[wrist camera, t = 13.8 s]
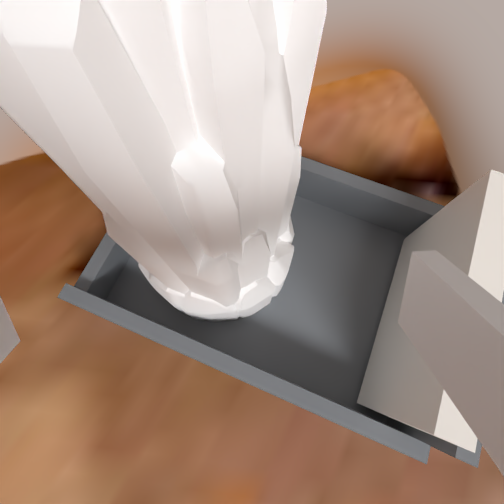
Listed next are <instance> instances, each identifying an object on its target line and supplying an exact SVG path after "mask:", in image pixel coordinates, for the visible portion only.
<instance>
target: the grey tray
mask: <svg viewBox="0 0 504 504" xmlns="http://www.w3.org/2000/svg"><path fill="white" fill-rule="evenodd" d="M444 207H445V206H442V205H439V204H437V203H434V202H431V201H428V200H425V199H422V198H419V197H416V196H414V195H411V194H408V193H405V192H402V191H399V190H396V189H394V188H391V187H388V186H385V185H382V184H379V183H376V182H374V181H371V180H368V179H365V178H362V177H359V176H356V175H354V174H351V173H348V172H345V171H342V170H339V169H336V168H334V167H331V166H328V165H325V164H322V163H319V162H316V161H314V160H311V159H308V158H305V157H302V156H301V172H300V180H299V184H298V187H297V191H296V195H295V199H294V203H293V207H292V211H291V215H290V216H291V221H292V225H293V230H294V238H293V241H292V244H291V245H293V246H294V253H293V257H292V260H291V264H290V267H289V271H288V274H287V276H286V279H285V281H284V283H283V286H282V288H281V290H280V292H279V293H278V295H277V296H274V297H272V298H271V302H270V304H268V305H267V306H265V307H263V308H262V309H260V310H259V311H257V312H256V313H254V314H253V315H250V316H248V317H245V318H241V317H239V318H238V319H237V320H227V321H216V322H211V321H205V320H198V319H194V318H192V317H191V316H189V315H185V314H184V313H182V312H181V311H179V310H178V309H177V308H175V307H174V306H173V305H171V304H170V303H169V302H168V301H167V300H166V299H165V298H164V297H163V296H162V295H160V294H159V293H158V292H157V291H156V290H155V289H154V288H153V287H152V285H151V284H150V283H149V281H148V280H147V278H146V277H145V276H144V274H143V273H142V271H141V270H140V268H139V266H138V264H139V263H138V262H137V261H136V260H135V259H134V258H133V257H132V256H131V255H129V254H128V253H127V252H126V251H125V250H124V249H123V248H122V247H120V246H119V245H118V244H117V243H116V242H115V241H114V240H113V239H112V238H111V237H110V236H109V235H108V234H107V232H106V234H105V236H104V237H103V239H102V241H101V242H100V244H99V246H98V247H97V249H96V251H95V252H94V254H93V256H92V257H91V259H90V261H89V262H88V264H87V266H86V267H85V269H84V271H83V272H82V274H81V276H80V277H79V279H78V281H77V282H76V284H75V286H71V285H69V284H65V286H64V287H63V289H62V290H61V292H60V294H59V295H58V298H60V299H62V300H64V301H67V302H69V303H71V304H73V305H75V306H78V307H80V308H82V309H84V310H86V311H89V312H91V313H93V314H95V315H98V316H100V317H102V318H104V319H106V320H109V321H111V322H113V323H115V324H117V325H120V326H122V327H124V328H126V329H129V330H131V331H133V332H135V333H137V334H140V335H142V336H144V337H146V338H148V339H151V340H153V341H155V342H157V343H159V344H162V345H164V346H166V347H168V348H171V349H173V350H175V351H177V352H179V353H182V354H184V355H186V356H188V357H190V358H193V359H195V360H197V361H199V362H202V363H204V364H206V365H208V366H210V367H213V368H215V369H217V370H219V371H221V372H224V373H226V374H228V375H230V376H232V377H235V378H237V379H239V380H241V381H244V382H246V383H248V384H250V385H252V386H255V387H257V388H259V389H261V390H263V391H266V392H268V393H270V394H272V395H275V396H277V397H279V398H281V399H283V400H286V401H288V402H290V403H292V404H294V405H297V406H299V407H301V408H303V409H305V410H308V411H310V412H312V413H314V414H317V415H319V416H321V417H323V418H325V419H328V420H330V421H332V422H334V423H336V424H339V425H341V426H343V427H345V428H348V429H350V430H352V431H354V432H356V433H359V434H361V435H363V436H365V437H367V438H370V439H372V440H374V441H376V442H378V443H381V444H383V445H385V446H387V447H390V448H392V449H394V450H396V451H398V452H401V453H403V454H405V455H407V456H409V457H412V458H414V459H416V460H418V461H421V462H423V463H425V464H427V461H428V456H429V451H430V447H431V446H432V447H434V448H436V449H438V450H440V451H442V452H444V453H446V454H448V455H450V456H453V457H455V458H457V459H459V460H461V461H464V462H466V463H468V464H470V465H473V466H475V467H477V468H478V464H479V458H480V452H481V447H482V444H481V443H480V441H479V440H478V439H477V445H476V450H475V453H474V452H471V451H469V450H466V449H464V448H462V447H459V446H457V445H454V444H452V443H450V442H447V441H445V440H443V439H440V438H438V437H435V436H433V435H431V434H428V433H426V432H424V431H421V430H419V429H416V428H414V427H412V426H409V425H407V424H405V423H402V422H400V421H397V420H395V419H393V418H390V417H388V416H385V415H383V414H381V413H378V412H376V411H374V410H372V409H369V408H367V407H365V406H362V405H360V404H358V403H357V400H358V396H359V393H360V390H361V386H362V383H363V379H364V376H365V372H366V369H367V365H368V362H369V358H370V355H371V352H372V348H373V345H374V341H375V338H376V334H377V331H378V327H379V324H380V320H381V317H382V314H383V310H384V307H385V303H386V300H387V296H388V293H389V289H390V286H391V283H392V279H393V276H394V272H395V269H396V265H397V262H398V258H399V255H400V251H401V248H402V245H403V241H404V239H405V238H406V237H407V236H408V235H410V234H411V233H412V232H413V231H415V230H416V229H417V228H418V227H420V226H421V225H422V224H424V223H425V222H426V221H427V220H429V219H430V218H431V217H432V216H434V215H435V214H436V213H437V212H439V211H440V210H441V209H442V208H444ZM502 304H504V292H503V298H502Z"/></svg>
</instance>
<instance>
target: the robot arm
mask: <svg viewBox="0 0 504 504" xmlns="http://www.w3.org/2000/svg"><path fill="white" fill-rule="evenodd" d="M398 323H399V325H400V326H401V328H402V329H403V330H404V332H405V333H406V335H407V336H408V338H409V339H410V341H411V342H412V344H413V345H414V347H415V348H416V349H417V351H418V352H419V354H420V355H421V357H422V358H423V360H424V361H425V363H426V364H427V365H428V367H429V368H430V370H431V371H432V373H433V374H434V376H435V377H436V379H437V380H438V381H439V383H440V384H441V386H442V387H443V389H444V390H445V392H446V393H447V395H448V396H449V397H450V399H451V400H452V402H453V403H454V405H455V406H456V408H457V409H458V411H459V412H460V413H461V415H462V416H463V418H464V419H465V421H466V422H467V424H468V425H469V427H470V428H471V429H472V431H473V432H474V434H475V435H476V437H477V438H478V440H479V441H480V443H481V444H482V446H483V447H484V448H485V450H486V451H487V453H488V454H489V456H490V457H491V459H492V460H493V462H494V463H495V464H496V466H497V467H498V469H499V470H500V472H501V473H502V475H503V476H504V304H502V303H501V302H500V301H499V300H497V299H496V298H495V297H494V296H492V295H491V294H490V293H489V292H487V291H486V290H485V289H484V288H483V287H481V286H480V285H479V284H478V283H476V282H475V281H474V280H473V279H471V278H470V277H469V276H468V275H466V274H465V273H464V272H463V271H461V270H460V269H459V268H458V267H456V266H455V265H454V264H453V263H451V262H450V261H449V260H448V259H446V258H445V257H444V256H443V255H441V254H440V253H439V252H438V251H436V250H434V251H412V254H411V259H410V264H409V269H408V274H407V279H406V284H405V289H404V294H403V299H402V304H401V309H400V314H399V319H398ZM19 342H20V339H19V337H18V334H17V332H16V330H15V328H14V326H13V323H12V321H11V319H10V317H9V315H8V312H7V310H6V308H5V306H4V303H3V301H2V299H1V297H0V363H1V362H2V361H3V360H4V359H5V358H6V357H7V355H8V354H9V353H10V352H11V351H12V350H13V349H14V348H15V347H16V345H17V344H18V343H19Z"/></svg>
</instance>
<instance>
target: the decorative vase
mask: <svg viewBox="0 0 504 504" xmlns="http://www.w3.org/2000/svg"><path fill="white" fill-rule="evenodd" d="M326 12H327V0H0V108H1V109H2V110H3V111H4V112H5V113H6V114H7V115H8V116H9V117H10V118H11V119H12V120H13V121H14V122H15V123H16V124H17V125H18V126H19V127H20V128H21V129H22V130H23V131H24V132H25V133H26V134H27V135H28V136H29V137H30V138H31V139H32V140H33V141H34V142H35V143H36V144H37V145H38V146H39V147H40V148H41V149H42V150H43V151H44V152H45V153H46V154H47V155H48V156H49V157H50V158H51V159H52V160H53V161H54V162H55V163H56V164H57V165H58V166H59V167H60V168H61V169H62V170H63V171H64V172H65V173H66V175H67V176H68V177H69V178H70V179H71V180H72V181H73V182H74V183H75V184H76V185H77V186H78V187H79V188H80V189H81V190H82V191H83V192H84V193H85V195H86V196H87V197H88V198H89V199H90V200H91V201H92V202H93V203H94V204H95V205H96V206H97V207H98V208H99V209H100V210H101V211H102V213H103V217H104V221H105V225H106V230H107V234H108V235H109V236H110V237H111V238H112V239H113V240H114V241H115V242H116V243H117V244H118V245H119V246H120V247H122V248H123V249H124V250H125V251H126V252H127V253H128V254H129V255H131V256H132V257H133V258H134V259H135V260H136V261H137V262H138V263H139V264H138V266H139V268H140V270H141V271H142V273H143V274H144V276H145V277H146V278H147V280H148V281H149V283H150V284H151V285H152V287H153V288H154V289H155V290H156V291H157V292H158V293H159V294H160V295H162V296H163V297H164V298H165V299H166V300H167V301H168V302H169V303H170V304H171V305H173V306H174V307H175V308H177V309H178V310H179V311H181V312H182V313H184V314H185V315H189V316H191V317H192V318H194V319H198V320H205V321H211V322H216V321H227V320H237V319H238V318H239V317H241V318H245V317H248V316H250V315H253V314H254V313H256V312H257V311H259V310H260V309H262V308H263V307H265V306H267V305H268V304H270V302H271V298H272V297H274V296H277V295H278V293H279V292H280V290H281V288H282V286H283V283H284V281H285V279H286V276H287V274H288V271H289V267H290V264H291V260H292V257H293V253H294V246H293V245H291V244H292V241H293V238H294V230H293V225H292V221H291V216H290V215H291V211H292V207H293V203H294V199H295V195H296V191H297V187H298V184H299V180H300V172H301V149H302V148H301V147H300V146H299V141H300V137H301V132H302V127H303V122H304V117H305V112H306V108H307V103H308V98H309V94H310V89H311V84H312V79H313V75H314V70H315V65H316V60H317V55H318V50H319V45H320V40H321V36H322V31H323V26H324V22H325V17H326Z"/></svg>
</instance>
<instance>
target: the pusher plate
mask: <svg viewBox="0 0 504 504" xmlns="http://www.w3.org/2000/svg"><path fill="white" fill-rule="evenodd" d="M434 250H436V251H438V252H439V253H440V254H441V255H443V256H444V257H445V258H446V259H448V260H449V261H450V262H451V263H453V264H454V265H455V266H456V267H458V268H459V269H460V270H461V271H463V272H464V273H465V274H466V275H468V276H469V277H470V278H471V279H473V280H474V281H475V282H476V283H478V284H479V285H480V286H481V287H483V288H484V289H485V290H486V291H487V292H489V293H490V294H491V295H492V296H494V297H495V298H496V299H497V300H499V301H500V302H501V303H502V298H503V292H504V174H503V173H500V172H497V171H494V170H490V171H489V172H487V173H486V174H485V175H484V176H482V177H481V178H480V179H479V180H477V181H476V182H475V183H474V184H472V185H471V186H470V187H469V188H467V189H466V190H465V191H464V192H462V193H461V194H460V195H459V196H457V197H456V198H455V199H454V200H452V201H451V202H450V203H449V204H447V205H446V206H445V207H444V208H442V209H441V210H440V211H439V212H437V213H436V214H435V215H434V216H432V217H431V218H430V219H429V220H427V221H426V222H425V223H424V224H422V225H421V226H420V227H418V228H417V229H416V230H415V231H413V232H412V233H411V234H410V235H408V236H407V237H406V238H405V239H404V241H403V245H402V248H401V251H400V255H399V258H398V262H397V265H396V269H395V272H394V276H393V279H392V283H391V286H390V289H389V293H388V296H387V300H386V303H385V307H384V310H383V314H382V317H381V320H380V324H379V327H378V331H377V334H376V338H375V341H374V345H373V348H372V352H371V355H370V358H369V362H368V365H367V369H366V372H365V376H364V379H363V383H362V386H361V390H360V393H359V396H358V400H357V403H358V404H360V405H362V406H365V407H367V408H369V409H372V410H374V411H376V412H378V413H381V414H383V415H385V416H388V417H390V418H393V419H395V420H397V421H400V422H402V423H405V424H407V425H409V426H412V427H414V428H416V429H419V430H421V431H424V432H426V433H428V434H431V435H433V436H435V437H438V438H440V439H443V440H445V441H447V442H450V443H452V444H454V445H457V446H459V447H462V448H464V449H466V450H469V451H471V452H474V453H475V450H476V445H477V439H478V438H477V437H476V435H475V434H474V432H473V431H472V429H471V428H470V427H469V425H468V424H467V422H466V421H465V419H464V418H463V416H462V415H461V413H460V412H459V411H458V409H457V408H456V406H455V405H454V403H453V402H452V400H451V399H450V397H449V396H448V395H447V393H446V392H445V390H444V389H443V387H442V386H441V384H440V383H439V381H438V380H437V379H436V377H435V376H434V374H433V373H432V371H431V370H430V368H429V367H428V365H427V364H426V363H425V361H424V360H423V358H422V357H421V355H420V354H419V352H418V351H417V349H416V348H415V347H414V345H413V344H412V342H411V341H410V339H409V338H408V336H407V335H406V333H405V332H404V330H403V329H402V328H401V326H400V325H399V323H398V319H399V314H400V309H401V304H402V299H403V294H404V289H405V284H406V279H407V274H408V269H409V264H410V259H411V254H412V251H434Z"/></svg>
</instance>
